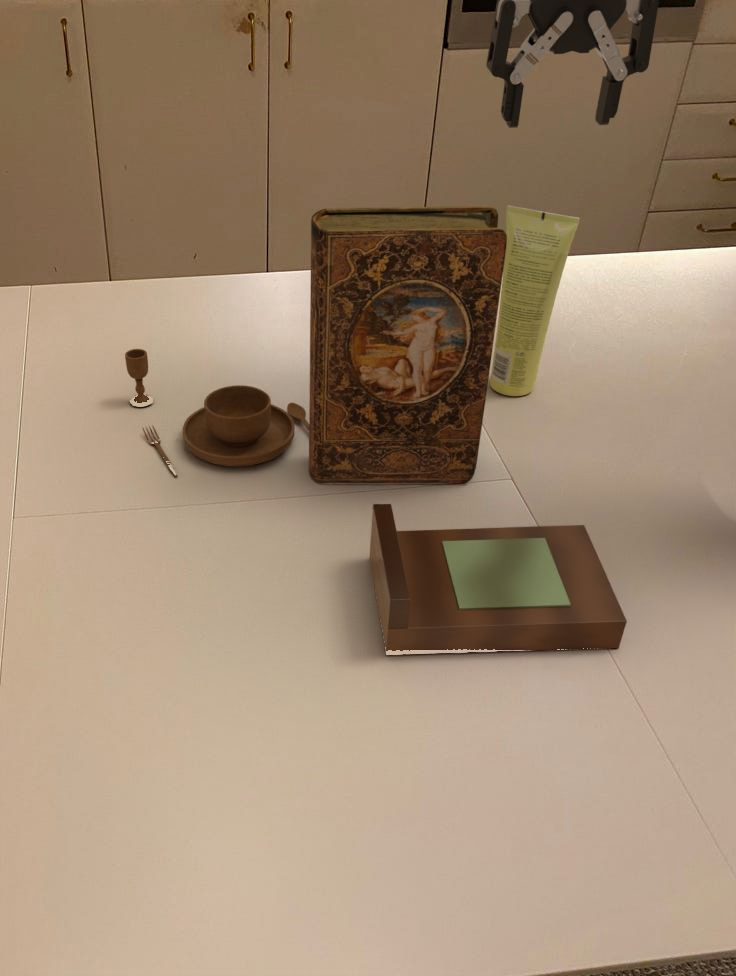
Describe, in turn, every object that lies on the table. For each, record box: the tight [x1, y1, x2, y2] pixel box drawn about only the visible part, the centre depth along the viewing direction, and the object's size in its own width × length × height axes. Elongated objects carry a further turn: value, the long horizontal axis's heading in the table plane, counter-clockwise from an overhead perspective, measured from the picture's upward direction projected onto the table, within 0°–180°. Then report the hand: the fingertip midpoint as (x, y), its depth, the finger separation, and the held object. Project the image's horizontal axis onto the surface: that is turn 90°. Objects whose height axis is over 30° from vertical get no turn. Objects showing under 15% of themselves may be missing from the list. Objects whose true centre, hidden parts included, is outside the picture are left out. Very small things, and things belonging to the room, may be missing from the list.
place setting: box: [124, 348, 309, 467], centre depth 106 cm, size 18×20×6 cm
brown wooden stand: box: [369, 503, 628, 651], centre depth 83 cm, size 19×13×6 cm
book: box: [308, 205, 507, 485], centre depth 92 cm, size 16×6×25 cm, turn 88°
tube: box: [489, 204, 581, 397], centre depth 106 cm, size 6×5×20 cm
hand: (556, 124), depth 93 cm, fingers open, 8 cm apart
